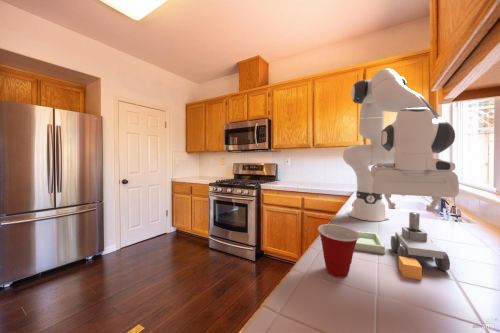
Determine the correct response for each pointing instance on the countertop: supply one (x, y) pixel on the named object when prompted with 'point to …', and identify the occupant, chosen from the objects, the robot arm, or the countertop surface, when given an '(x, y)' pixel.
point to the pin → (414, 221)
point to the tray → (369, 243)
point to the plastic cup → (338, 248)
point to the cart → (418, 247)
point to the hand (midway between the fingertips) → (410, 210)
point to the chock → (410, 268)
